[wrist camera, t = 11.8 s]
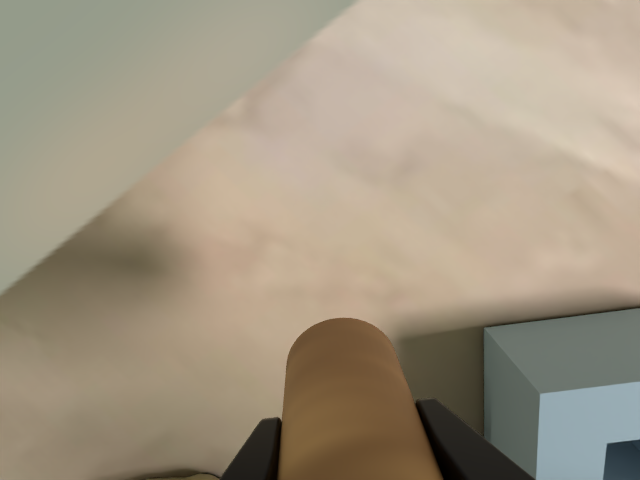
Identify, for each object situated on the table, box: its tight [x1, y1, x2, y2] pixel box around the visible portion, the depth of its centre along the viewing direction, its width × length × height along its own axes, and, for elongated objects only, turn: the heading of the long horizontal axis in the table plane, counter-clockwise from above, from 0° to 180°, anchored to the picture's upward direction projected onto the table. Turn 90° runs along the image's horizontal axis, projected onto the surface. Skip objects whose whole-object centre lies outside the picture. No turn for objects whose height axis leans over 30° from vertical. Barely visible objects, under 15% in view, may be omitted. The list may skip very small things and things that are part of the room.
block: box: [484, 308, 640, 480], centre depth 18 cm, size 10×10×5 cm
